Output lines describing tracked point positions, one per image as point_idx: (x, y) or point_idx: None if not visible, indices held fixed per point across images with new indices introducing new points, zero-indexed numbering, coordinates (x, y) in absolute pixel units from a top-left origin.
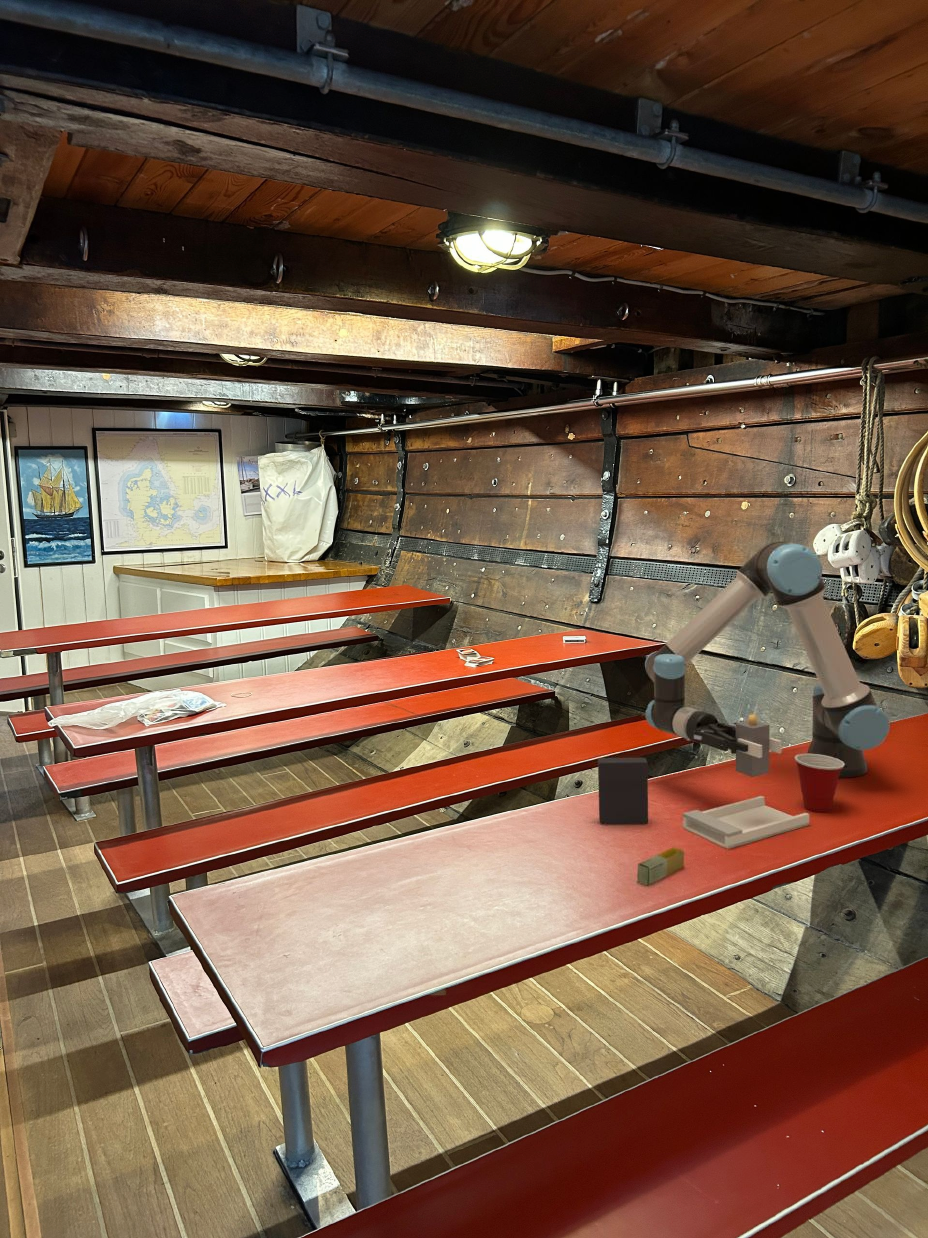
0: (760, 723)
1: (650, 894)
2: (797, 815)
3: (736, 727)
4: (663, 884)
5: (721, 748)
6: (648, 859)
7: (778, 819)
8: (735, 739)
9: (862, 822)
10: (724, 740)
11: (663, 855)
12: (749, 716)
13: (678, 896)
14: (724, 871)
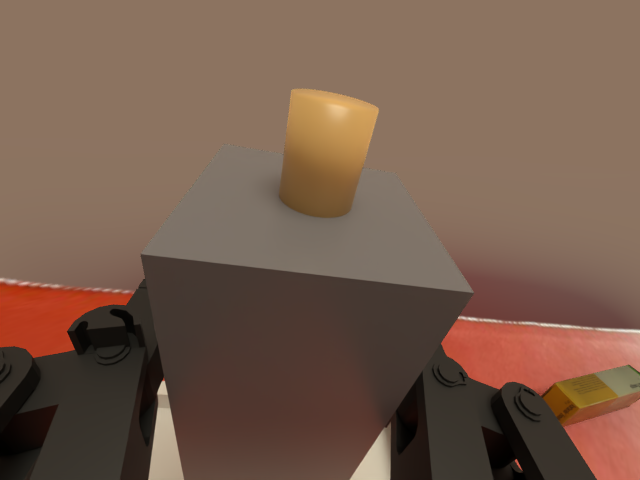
0: (238, 173)
1: (597, 361)
2: (166, 392)
3: (446, 317)
4: (576, 373)
5: (516, 466)
6: (635, 389)
7: (168, 469)
8: (432, 360)
9: (33, 333)
10: (538, 396)
11: (603, 387)
12: (375, 117)
13: (552, 335)
14: (462, 349)
